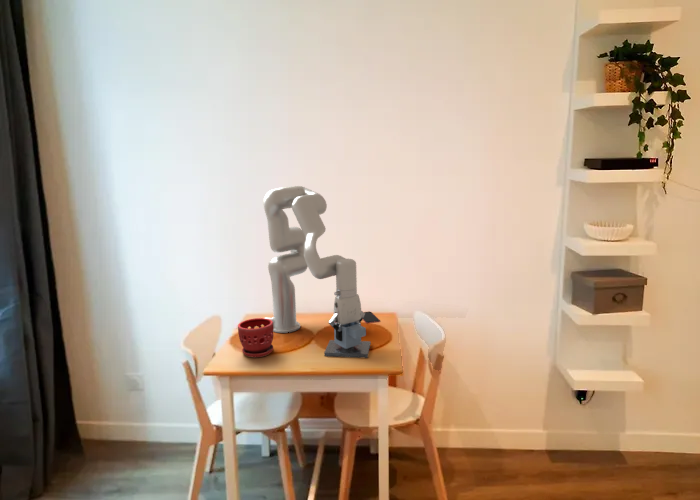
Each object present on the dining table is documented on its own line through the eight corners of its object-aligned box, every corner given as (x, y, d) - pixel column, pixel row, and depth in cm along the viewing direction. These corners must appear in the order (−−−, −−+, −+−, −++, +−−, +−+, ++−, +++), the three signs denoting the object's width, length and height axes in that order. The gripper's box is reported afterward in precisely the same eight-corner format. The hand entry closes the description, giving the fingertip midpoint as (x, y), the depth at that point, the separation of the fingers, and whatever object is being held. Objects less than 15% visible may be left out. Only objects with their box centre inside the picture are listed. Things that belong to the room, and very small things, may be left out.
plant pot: (279, 346, 198) (278, 317, 196) (267, 361, 186) (265, 330, 183) (248, 344, 201) (246, 315, 198) (234, 358, 189) (231, 328, 186)
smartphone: (370, 311, 236) (381, 321, 223) (370, 312, 236) (381, 322, 223) (356, 312, 234) (366, 322, 221) (356, 314, 234) (366, 324, 221)
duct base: (324, 356, 189) (323, 339, 187) (330, 343, 200) (329, 327, 199) (367, 358, 187) (367, 341, 185) (370, 345, 198) (370, 329, 197)
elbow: (353, 352, 185) (352, 331, 183) (334, 342, 194) (334, 322, 192) (368, 347, 189) (368, 327, 187) (349, 338, 198) (349, 318, 196)
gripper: (333, 299, 181) (334, 346, 184) (371, 290, 191) (371, 334, 195) (321, 294, 186) (322, 340, 190) (358, 285, 197) (359, 329, 200)
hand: (347, 337), depth 192 cm, fingers closed on elbow, 7 cm apart
